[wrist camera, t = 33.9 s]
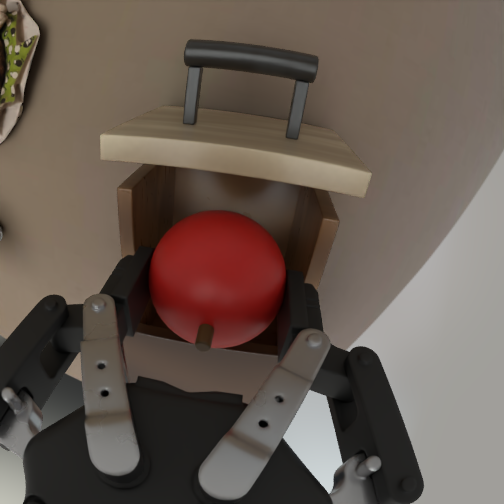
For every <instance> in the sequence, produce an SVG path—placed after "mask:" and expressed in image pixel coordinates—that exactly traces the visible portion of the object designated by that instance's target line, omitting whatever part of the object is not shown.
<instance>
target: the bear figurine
mask: <svg viewBox="0 0 504 504" xmlns="http://www.w3.org/2000/svg"><path fill="white" fill-rule="evenodd" d="M39 36H40V32H39V28H38V25H37V24H36V23H35V22H34V20H33V19H32V18H31V17H30V15H29V14H28V13H27V11H26V9H25V7H24V6H23V4H22V2H21V1H20V0H0V144H1V143H2V142H3V141H4V140H5V139H6V137H7V136H8V134H9V133H10V131H11V130H12V128H13V127H14V125H15V124H16V123H15V122H16V120H17V118H18V117H19V116H20V114H21V113H22V110H23V106H21V104H22V103H23V96H24V88H25V84H26V80H27V76H28V72H29V69H30V65H31V62H32V58H33V55H34V52H35V49H36V45H37V42H38V39H39ZM20 117H21V116H20ZM17 121H18V120H17Z"/></svg>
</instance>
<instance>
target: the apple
mask: <svg viewBox="0 0 504 504" xmlns="http://www.w3.org/2000/svg"><path fill="white" fill-rule="evenodd" d="M285 287H286V267H285V262H284V259H283V256H282V253H281V251H280V249H279V247H278V245H277V243H276V242H275V240H274V239H273V237H272V236H271V235H270V234H269V233H268V232H267V230H266V229H265V228H263V227H262V226H261V225H260V224H259V223H257V222H256V221H254V220H252V219H251V218H249V217H247V216H244V215H242V214H239V213H236V212H232V211H226V210H208V211H202V212H198V213H195V214H193V215H190V216H188V217H186V218H184V219H182V220H181V221H179V222H177V223H176V224H175V225H174V226H173V227H172V228H170V229H169V230H168V231H167V232H166V233H165V235H164V236H163V237H162V238H161V240H160V241H159V243H158V245H157V246H156V248H155V251H154V253H153V256H152V259H151V263H150V268H149V290H150V295H151V299H152V302H153V304H154V307H155V309H156V311H157V313H158V315H159V316H160V318H161V319H162V320H163V322H164V323H165V324H166V325H167V326H168V327H169V328H170V329H171V330H172V331H173V332H174V333H175V334H177V335H178V336H180V337H181V338H183V339H185V340H186V341H188V342H190V343H193V344H195V348H196V349H197V350H198V351H201V352H207V351H209V350H210V349H211V348H227V347H233V346H237V345H240V344H243V343H245V342H247V341H249V340H251V339H253V338H255V337H256V336H258V335H259V334H260V333H262V332H263V331H264V330H265V329H266V328H267V327H268V326H269V325H270V323H271V322H272V321H273V320H274V319H275V317H276V315H277V314H278V312H279V310H280V308H281V305H282V303H283V299H284V294H285Z"/></svg>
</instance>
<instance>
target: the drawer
mask: <svg viewBox="0 0 504 504" xmlns="http://www.w3.org/2000/svg"><path fill="white" fill-rule="evenodd" d="M184 62H185V65H186V66H190V67H189V69H188V77H187V86H186V95H185V104H184V107H178V106H161V107H159V108H157V109H154V110H152V111H149V112H147V113H145V114H143V115H140V116H138V117H136V118H134V119H132V120H129V121H127V122H125V123H123V124H121V125H119V126H117V127H115V128H113V129H111V130H109V131H107V132H105V133H103V134H101V135H100V155H101V160H106V161H120V162H131V163H142V164H143V165H142V166H141V167H140V168H139V169H137V170H136V171H135V172H134V173H133V174H132V175H131V176H130V177H129V178H127V179H126V180H125V181H124V182H123V183H122V184H121V185H120V186H119V187H118V188H117V196H118V215H119V229H120V241H121V252H122V259H123V258H124V257H125V256H127V255H133V256H134V254H135V252H136V251H137V249H138V248H139V246H144V247H150V248H156V246H157V245H158V243H159V241H160V240H161V238H162V237H163V236H164V235H165V233H166V232H167V231H168V230H169V229H170V228H172V227H173V226H174V225H175V224H176V223H177V222H179V221H181V220H182V219H184V218H186V217H188V216H190V215H193V214H195V213H198V212H202V211H208V210H226V211H232V212H236V213H239V214H242V215H244V216H247V217H249V218H251V219H252V220H254V221H256V222H257V223H259V224H260V225H261V226H262V227H263V228H265V229H266V230H267V232H268V233H269V234H270V235H271V236H272V237H273V239H274V240H275V242H276V243H277V245H278V247H279V249H280V251H281V253H282V256H283V259H284V262H285V267H286V270H287V269H288V270H295V271H301V272H303V277H304V283H308V284H312V285H313V286H314V288H315V289H316V291H317V288H318V286H319V283H320V280H321V277H322V274H323V271H324V268H325V265H326V262H327V259H328V256H329V253H330V250H331V247H332V244H333V241H334V238H335V235H336V232H337V229H338V225H339V222H340V221H339V218H338V215H337V213H336V211H335V208H334V206H333V203H332V201H331V198H330V196H329V193H328V191H331V192H336V193H341V194H346V195H350V196H355V197H360V198H365V195H366V192H367V189H368V185H369V182H370V179H371V175H372V173H371V171H370V170H369V169H368V168H367V167H366V166H365V164H364V163H363V162H362V161H361V160H360V159H359V158H358V157H357V155H356V154H355V153H354V152H353V151H352V150H351V149H350V148H349V147H348V146H347V144H346V143H345V142H344V141H343V140H342V139H341V138H340V137H339V136H338V135H337V134H336V133H335V132H334V131H333V130H330V129H326V128H321V127H317V126H312V125H307V124H302V123H301V122H302V117H303V112H304V107H305V102H306V97H307V92H308V87H309V83H313V82H314V80H315V78H316V74H317V70H318V62H319V60H318V57H317V56H315V55H310V54H306V53H301V52H296V51H290V50H285V49H279V48H273V47H266V46H260V45H252V44H244V43H235V42H225V41H213V40H196V39H190V40H188V42H187V44H186V47H185V52H184ZM202 67H205V68H217V69H227V70H236V71H244V72H251V73H258V74H265V75H271V76H277V77H283V78H289V79H294V80H296V81H295V86H294V91H293V97H292V102H291V107H290V113H289V118H288V121H287V120H281V119H275V118H269V117H263V116H257V115H250V114H243V113H236V112H228V111H220V110H211V109H201V108H198V106H199V97H200V89H201V81H202V73H203V68H202ZM308 82H309V83H308ZM140 323H142V324H146V325H151V326H156V327H161V328H166V329H170V328H169V327H168V326H167V325H166V324H165V323H164V322H163V320H162V319H161V318H160V316H159V315H158V313H157V311H156V309H155V307H154V304H153V302H152V299H151V297H150V299H149V302H148V304H147V306H146V309H145V311H144V313H143V316H142V318H141V320H140ZM247 342H251V343H259V344H267V345H275V346H278V314H277V315H276V317H275V319H274V320H273V321H272V322H271V323H270V325H269V326H268V327H267V328H266V329H265V330H264V331H263V332H262V333H260V334H259V335H258V336H256V337H255V338H253V339H251V340H249V341H247Z"/></svg>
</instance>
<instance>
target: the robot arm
mask: <svg viewBox="0 0 504 504" xmlns="http://www.w3.org/2000/svg"><path fill="white" fill-rule="evenodd" d="M154 251H155V248H150V247H144V246H139V248H138V249H137V251H136V252H135V254H134V256H133V255H127V256H125V257H124V258H123V259H121V260H120V261H119V263H118V264H117V266H116V268H115V269H114V271H113V272H112V275H110V277H109V278H108V280H107V282H106V283H105V285H104V287H103V288H102V290H101V292H100V293H99V294H95V295H92V296H90V297H89V298H87V299H86V300H85V302H84V304H73V305H67V304H66V301H65V299H64V298H63V297H62V296H59V295H49V296H46V297H45V298H43V299H42V300H41V301H40V302H39V303H38V304H37V305H36V306H35V307H34V308H33V309H32V311H31V312H30V313H29V314H28V315H27V316H26V317H25V319H24V320H23V321H22V322H21V323H20V324H19V325H18V327H17V328H16V329H15V330H14V331H13V333H12V334H11V335H10V336H9V337H8V339H7V340H6V341H5V342H4V343H3V345H2V346H1V347H0V446H1V447H2V448H3V449H5V450H8V451H12V452H14V453H15V454H16V455H18V456H19V457H20V458H22V459H23V467H24V473H25V480H26V494H25V500H24V502H23V504H410V503H412V502H414V501H416V500H417V499H418V498H419V497H420V496H421V494H422V492H423V488H424V483H423V478H422V475H421V472H420V469H419V466H418V462H417V459H416V456H415V453H414V450H413V447H412V444H411V441H410V439H409V436H408V433H407V430H406V428H405V424H404V422H403V419H402V416H401V413H400V411H399V408H398V405H397V403H396V400H395V397H394V395H393V392H392V389H391V387H390V385H389V382H388V379H387V377H386V374H385V372H384V369H383V367H382V364H381V362H380V359H379V357H378V356H377V354H376V353H375V352H374V351H373V350H371V349H369V348H367V347H361V346H360V347H355V348H353V349H352V350H351V351H350V352H348V351H345V350H343V349H340V348H337V347H335V346H334V345H332V344H331V343H330V340H329V338H328V336H327V335H326V334H325V333H324V332H323V325H322V318H321V312H320V305H319V298H318V292H317V291H316V289H315V288H314V286H313V285H312V284H308V283H304V277H303V272H301V271H295V270H288V269H287V270H286V287H285V294H284V299H283V303H282V305H281V308H280V310H279V312H278V362H280V363H279V365H276V366H275V367H274V368H273V370H272V371H271V373H270V374H269V376H268V377H267V378H266V380H265V381H264V383H263V384H262V386H261V387H260V389H259V390H258V392H257V393H256V394H255V396H254V397H253V399H252V400H251V402H250V403H249V404H246V403H244V402H242V400H243V395H240V394H233V393H226V392H219V391H210V392H186V391H184V390H181V389H179V388H177V387H175V386H172V385H170V384H168V383H166V382H164V381H160V380H155V379H151V378H146V377H142V376H138V378H137V381H136V383H130V379H129V374H128V369H127V363H126V357H125V351H124V345H123V341H124V338H125V336H130V337H134V335H135V332H136V330H137V327H138V325H139V323H140V320H141V318H142V316H143V313H144V311H145V309H146V306H147V304H148V302H149V299H150V297H151V295H150V290H149V268H150V263H151V259H152V256H153V253H154ZM48 342H49V343H48ZM45 346H46V347H45ZM42 350H43V351H42ZM79 352H81V370H82V384H83V394H84V405H83V406H82V407H80V408H79V409H77V410H75V411H74V412H72V413H71V414H69V415H67V416H66V417H64V418H62V419H61V420H59V421H57V422H56V423H54V424H52V425H51V426H49V427H47V428H46V429H44V430H42V431H41V432H40V430H41V424H42V421H43V417H42V412H41V409H42V408H43V406H44V405H45V403H46V401H47V400H48V398H49V397H50V395H51V394H52V392H53V390H54V389H55V387H56V386H57V384H58V383H59V381H60V380H61V378H62V377H63V375H64V374H65V372H66V371H67V369H68V368H69V366H70V365H71V363H72V362H73V360H74V359H75V357H76V356H77V354H78V353H79ZM309 390H312V391H314V392H317V393H320V394H323V395H326V396H327V400H328V404H329V408H330V412H331V416H332V420H333V424H334V428H335V432H336V436H337V441H338V445H339V449H340V453H341V458H342V462H343V464H342V465H341V466H340V467H339V468H338V469H337V470H336V472H335V474H334V486H333V489H332V491H331V493H330V494H328V492H327V491H326V490H325V488H324V487H323V486H322V485H321V484H320V483H319V482H318V480H317V479H316V478H315V477H314V476H313V475H312V473H311V472H310V471H309V470H308V469H307V468H306V466H305V465H304V464H303V463H302V461H301V460H300V459H299V458H298V457H297V455H296V454H295V453H294V452H293V450H292V449H291V448H290V447H289V445H288V444H287V443H286V442H285V440H284V439H283V438H282V437H283V436H284V434H285V432H286V431H287V429H288V427H289V425H290V423H291V422H292V420H293V418H294V417H295V415H296V413H297V411H298V409H299V408H300V406H301V404H302V402H303V400H304V398H305V397H306V395H307V393H308V391H309Z"/></svg>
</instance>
